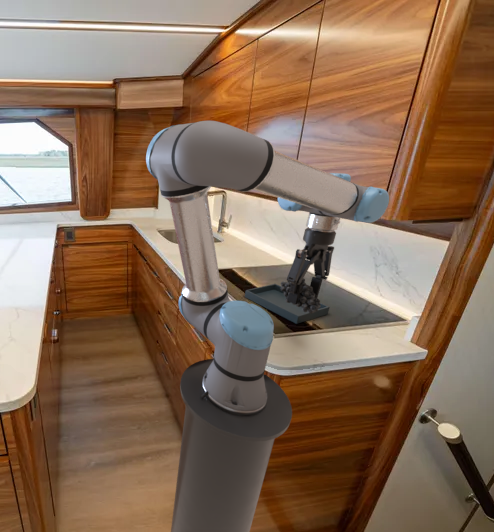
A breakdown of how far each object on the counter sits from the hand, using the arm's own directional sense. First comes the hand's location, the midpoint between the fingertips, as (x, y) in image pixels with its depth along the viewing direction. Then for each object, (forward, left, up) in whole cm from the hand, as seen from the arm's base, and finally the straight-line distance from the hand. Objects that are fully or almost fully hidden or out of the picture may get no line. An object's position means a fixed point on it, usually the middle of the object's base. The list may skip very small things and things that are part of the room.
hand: (302, 299), depth 93 cm
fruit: (-1, 0, -2) cm, 3 cm away
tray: (+16, +16, -13) cm, 26 cm away
